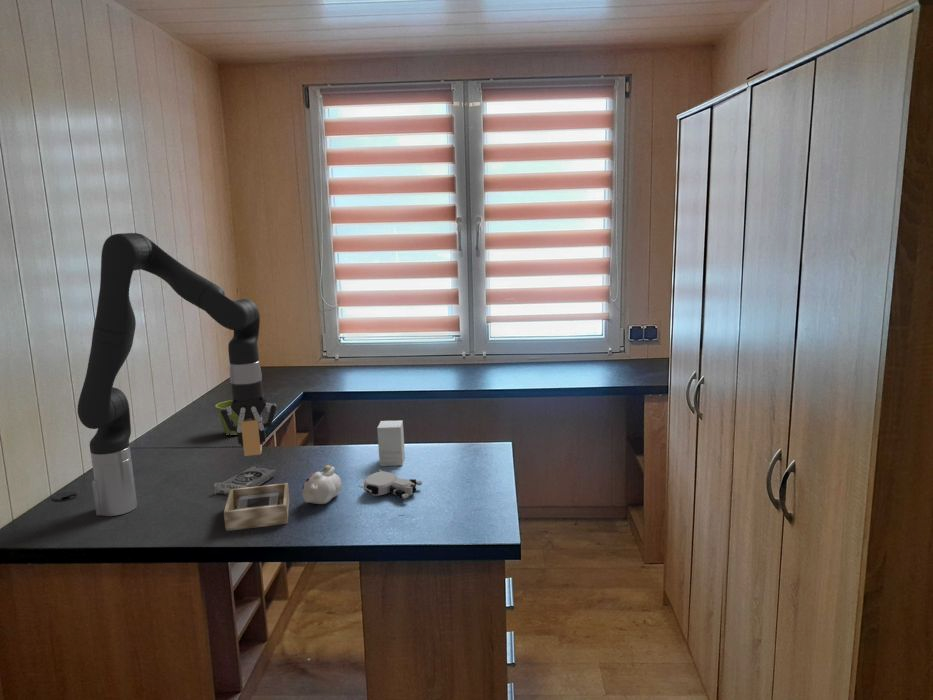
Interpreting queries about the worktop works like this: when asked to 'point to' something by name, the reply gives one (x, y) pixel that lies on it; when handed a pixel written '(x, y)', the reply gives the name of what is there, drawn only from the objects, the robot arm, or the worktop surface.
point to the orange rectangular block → (251, 437)
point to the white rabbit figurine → (322, 486)
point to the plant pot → (233, 415)
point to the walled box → (257, 507)
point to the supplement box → (391, 443)
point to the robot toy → (389, 485)
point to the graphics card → (245, 479)
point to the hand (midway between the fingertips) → (252, 444)
